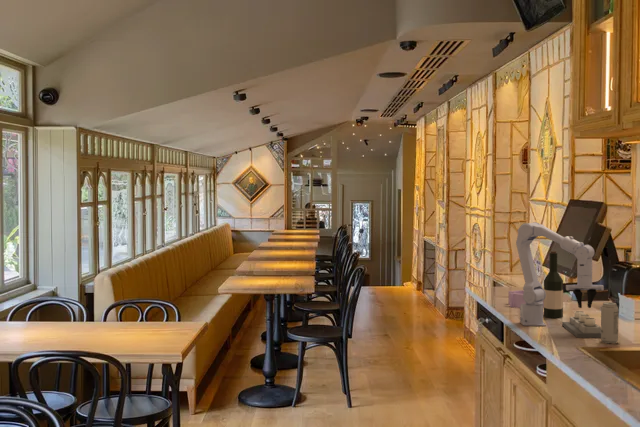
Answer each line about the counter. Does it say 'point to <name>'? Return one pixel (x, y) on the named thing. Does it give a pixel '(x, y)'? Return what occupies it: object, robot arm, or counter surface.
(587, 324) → the knob
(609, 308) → the energy drink can
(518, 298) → the pink rectangular box
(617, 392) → the counter surface
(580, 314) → the knob
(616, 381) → the counter surface
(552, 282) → the wine bottle
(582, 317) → the knob
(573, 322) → the mount board
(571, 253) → the robot arm
